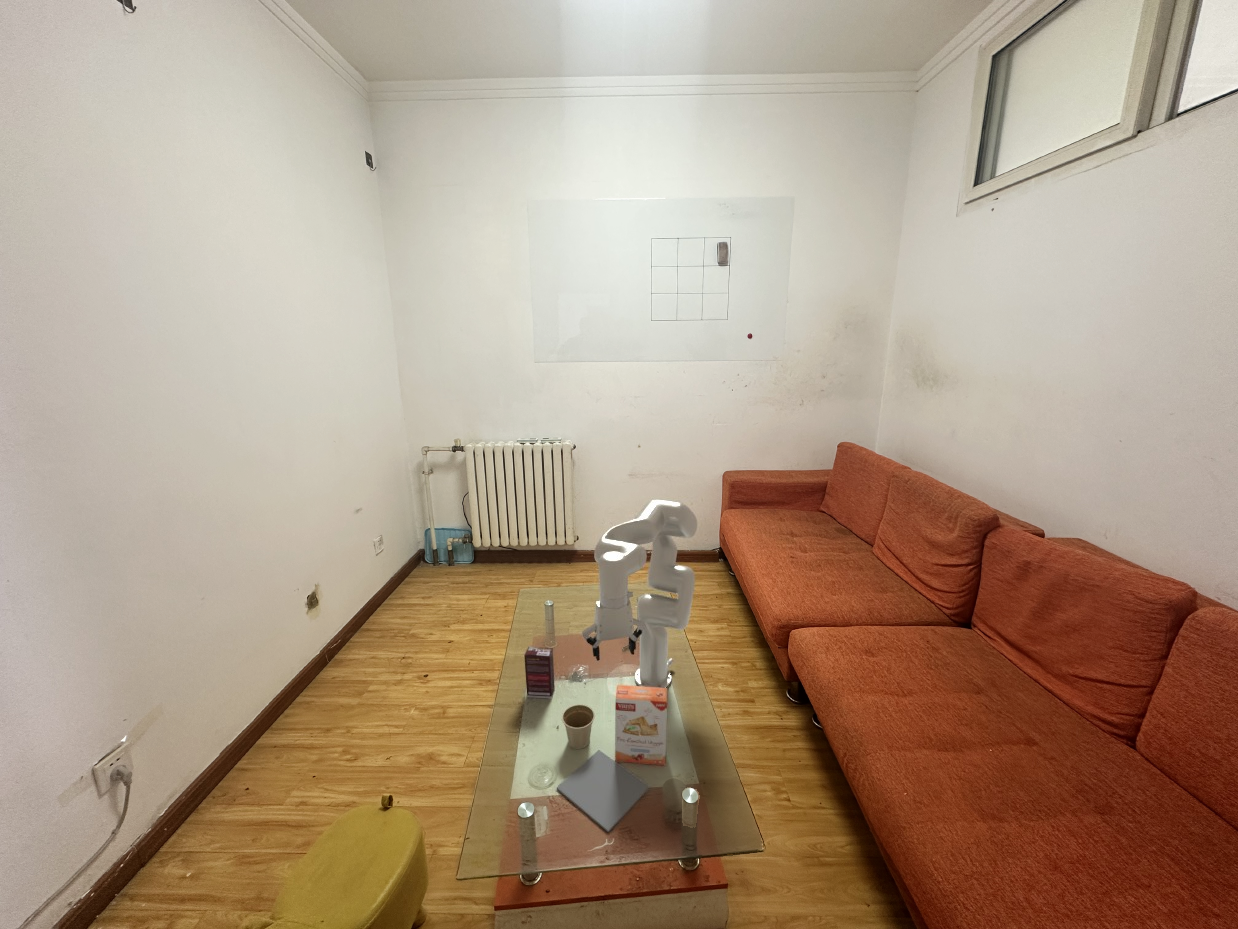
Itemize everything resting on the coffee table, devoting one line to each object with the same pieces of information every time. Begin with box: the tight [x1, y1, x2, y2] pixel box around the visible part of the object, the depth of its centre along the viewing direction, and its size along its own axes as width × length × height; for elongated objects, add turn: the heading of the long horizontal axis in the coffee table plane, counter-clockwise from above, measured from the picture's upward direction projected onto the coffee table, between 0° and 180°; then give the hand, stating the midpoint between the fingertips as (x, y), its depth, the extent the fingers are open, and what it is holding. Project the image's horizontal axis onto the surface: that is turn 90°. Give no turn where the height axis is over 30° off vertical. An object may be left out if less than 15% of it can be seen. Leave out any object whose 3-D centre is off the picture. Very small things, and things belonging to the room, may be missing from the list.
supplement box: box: [523, 646, 556, 700], centre depth 160 cm, size 9×5×16 cm, turn 85°
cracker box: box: [614, 684, 668, 766], centre depth 134 cm, size 14×6×21 cm, turn 85°
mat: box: [556, 749, 650, 833], centre depth 127 cm, size 16×18×1 cm
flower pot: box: [561, 704, 596, 750], centre depth 141 cm, size 9×9×9 cm
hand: (614, 654), depth 133 cm, fingers open, 9 cm apart
